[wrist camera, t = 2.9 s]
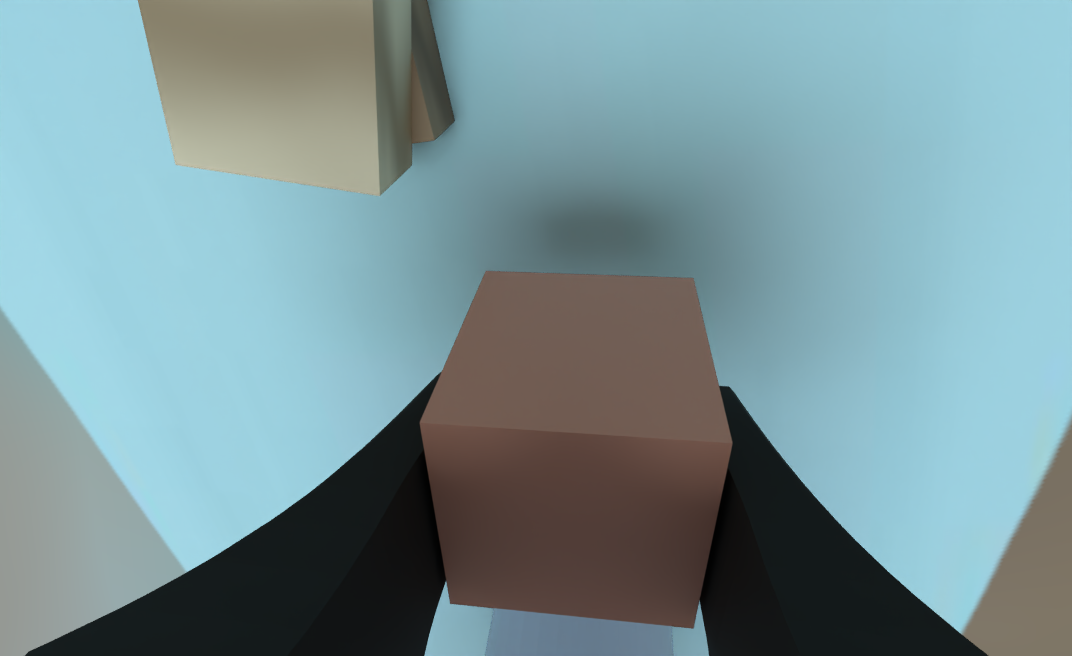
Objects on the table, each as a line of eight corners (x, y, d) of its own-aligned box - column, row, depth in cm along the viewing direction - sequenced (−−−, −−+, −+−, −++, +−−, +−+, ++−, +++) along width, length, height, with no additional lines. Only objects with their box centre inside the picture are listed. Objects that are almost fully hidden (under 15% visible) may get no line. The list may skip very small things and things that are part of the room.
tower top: (412, 164, 16) (379, 195, 14) (234, 138, 16) (175, 164, 14) (410, -55, 13) (370, -59, 11) (196, -84, 13) (116, -92, 11)
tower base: (457, 119, 17) (434, 140, 15) (306, 141, 18) (265, 164, 16) (411, -83, 15) (377, -90, 13) (239, -44, 16) (180, -45, 14)
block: (671, 436, 13) (693, 628, 9) (497, 425, 14) (450, 603, 10) (693, 278, 11) (733, 442, 7) (485, 270, 11) (419, 422, 8)
